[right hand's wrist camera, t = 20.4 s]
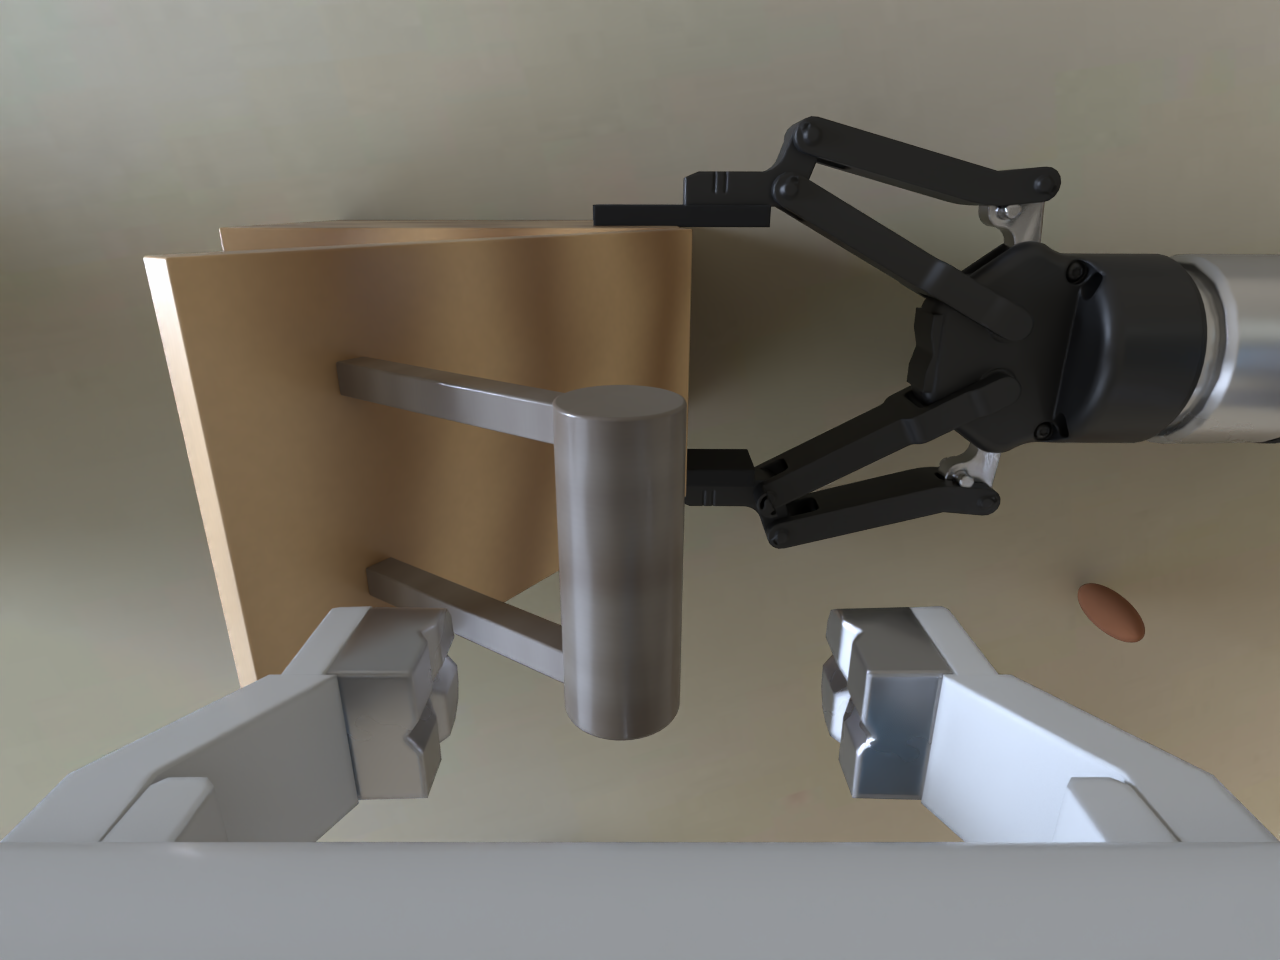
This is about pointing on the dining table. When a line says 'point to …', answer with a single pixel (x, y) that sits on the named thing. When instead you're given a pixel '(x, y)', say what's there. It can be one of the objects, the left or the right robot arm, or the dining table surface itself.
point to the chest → (397, 232)
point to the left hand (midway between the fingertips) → (598, 348)
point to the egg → (1111, 612)
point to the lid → (447, 446)
